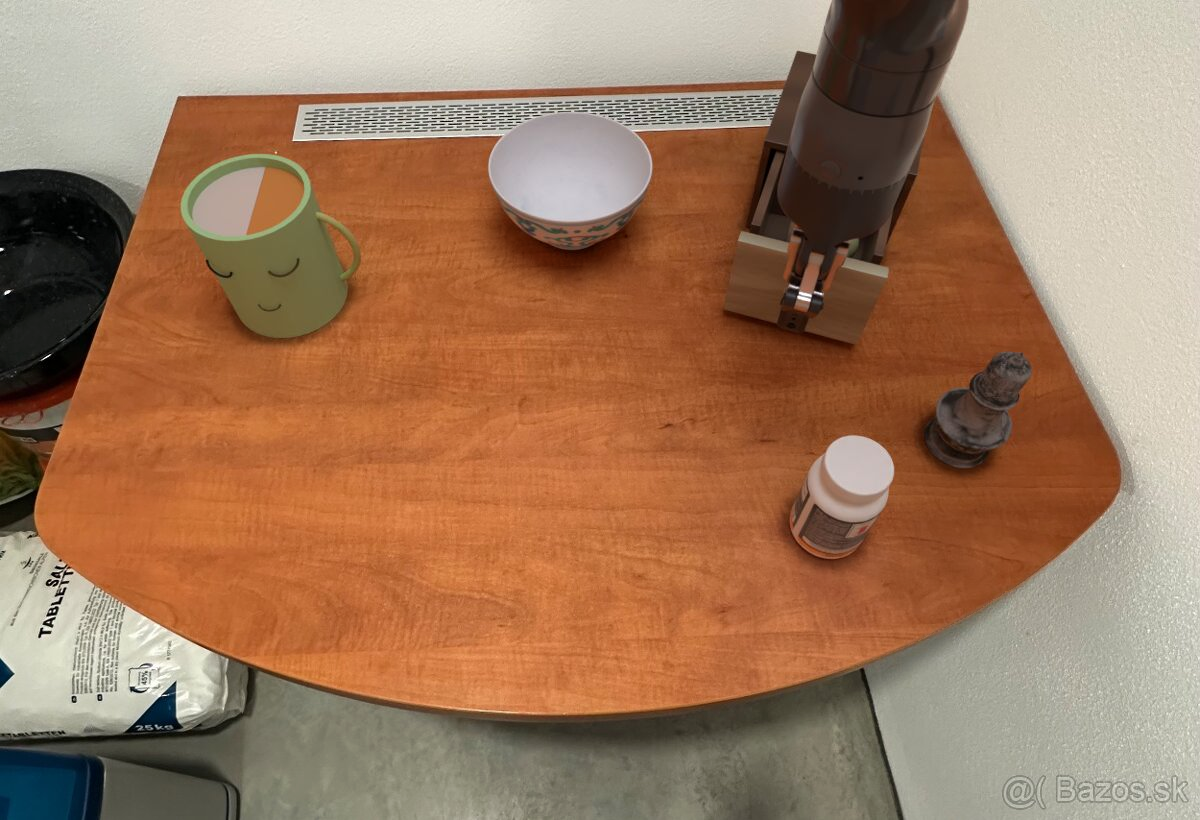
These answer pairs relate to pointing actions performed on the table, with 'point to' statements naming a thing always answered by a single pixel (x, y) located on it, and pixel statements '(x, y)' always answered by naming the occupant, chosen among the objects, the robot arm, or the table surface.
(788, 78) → the cabinet
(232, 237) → the mug
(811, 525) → the pill bottle
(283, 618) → the table surface
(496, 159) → the chinaware
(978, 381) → the chess piece
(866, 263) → the drawer
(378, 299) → the table surface
